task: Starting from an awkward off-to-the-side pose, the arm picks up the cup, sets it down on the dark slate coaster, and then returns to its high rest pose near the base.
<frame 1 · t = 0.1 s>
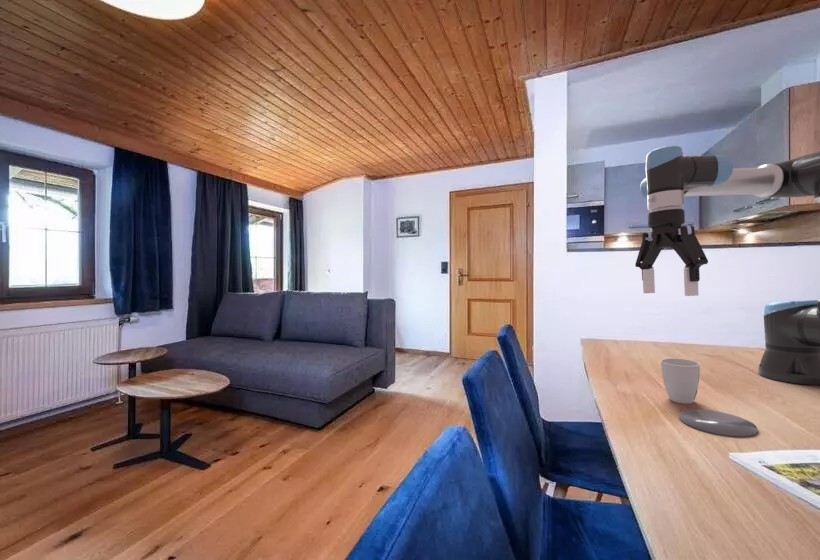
hand: (668, 294, 89), 28 cm above the table, fingers open, 13 cm apart
cup: (681, 400, 92), on the table
coaster: (716, 423, 78), on the table
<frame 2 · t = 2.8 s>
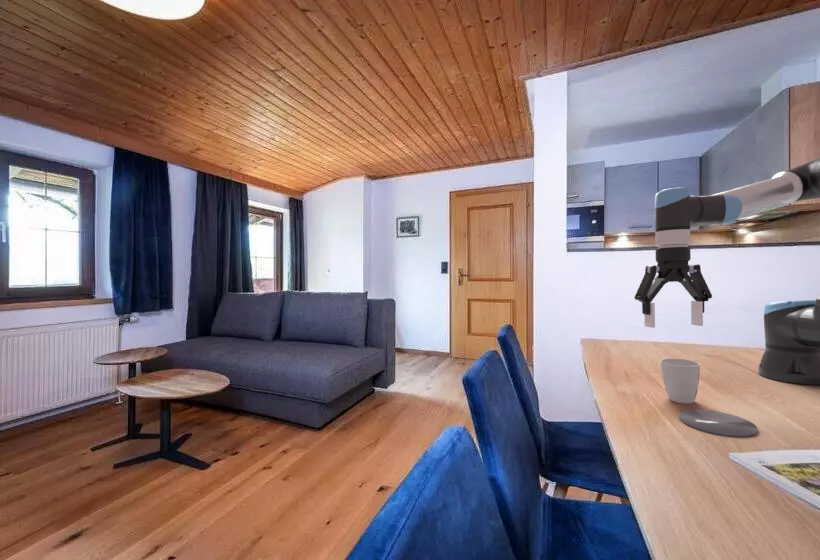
hand: (673, 326, 95), 19 cm above the table, fingers open, 13 cm apart
nothing on the table moved.
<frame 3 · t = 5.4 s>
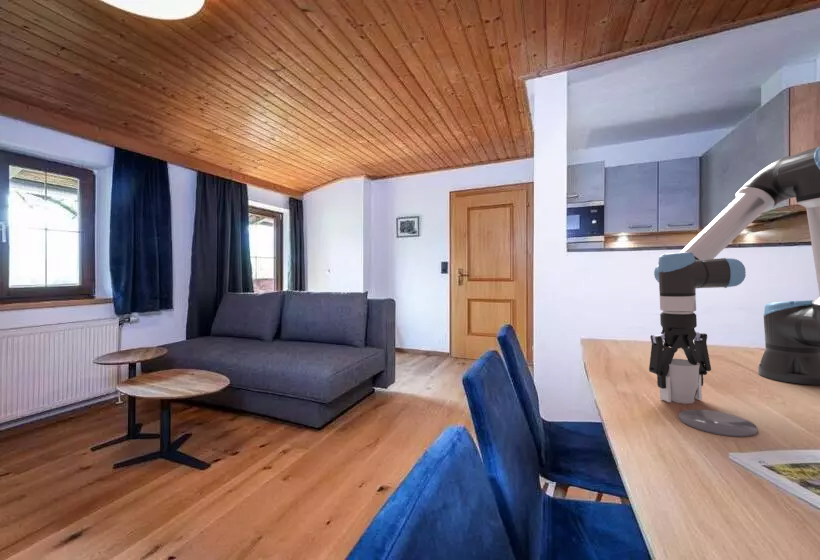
hand: (680, 399, 92), 0 cm above the table, fingers closed on cup, 8 cm apart
cup: (680, 400, 92), on the table, touching gripper
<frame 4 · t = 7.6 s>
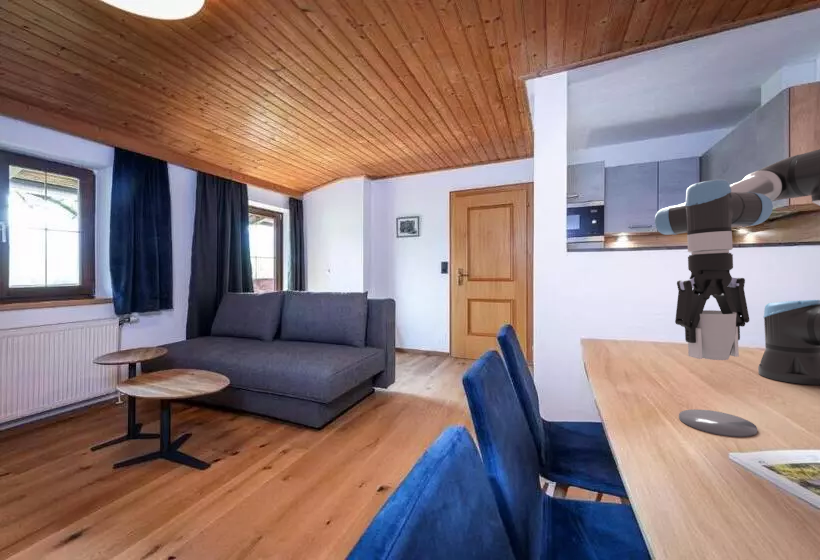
hand: (713, 356, 78), 15 cm above the table, fingers closed on cup, 8 cm apart
cup: (713, 358, 78), point 14 cm above the table, touching gripper
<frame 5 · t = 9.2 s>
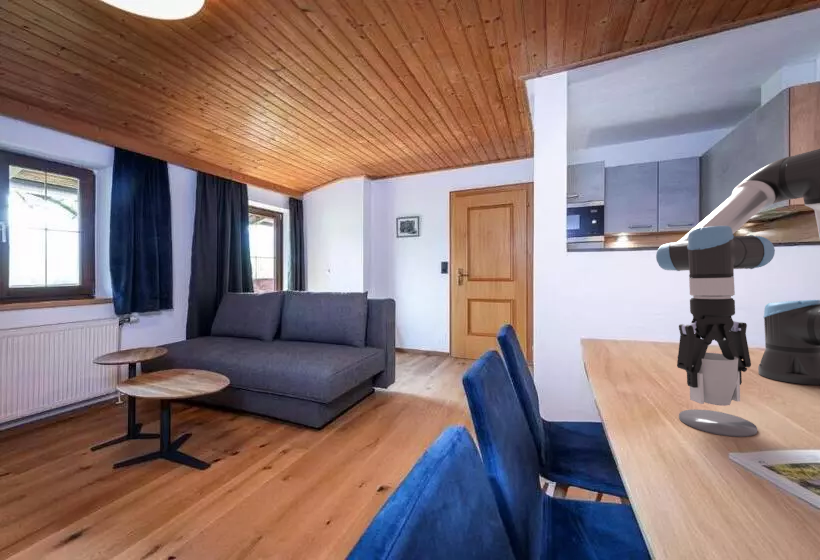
hand: (714, 400, 78), 5 cm above the table, fingers closed on cup, 8 cm apart
cup: (714, 402, 78), point 5 cm above the table, touching gripper
when the fingers open (2 cm above the table, at t = 10.3 s): cup drops 1 cm, resting on coaster.
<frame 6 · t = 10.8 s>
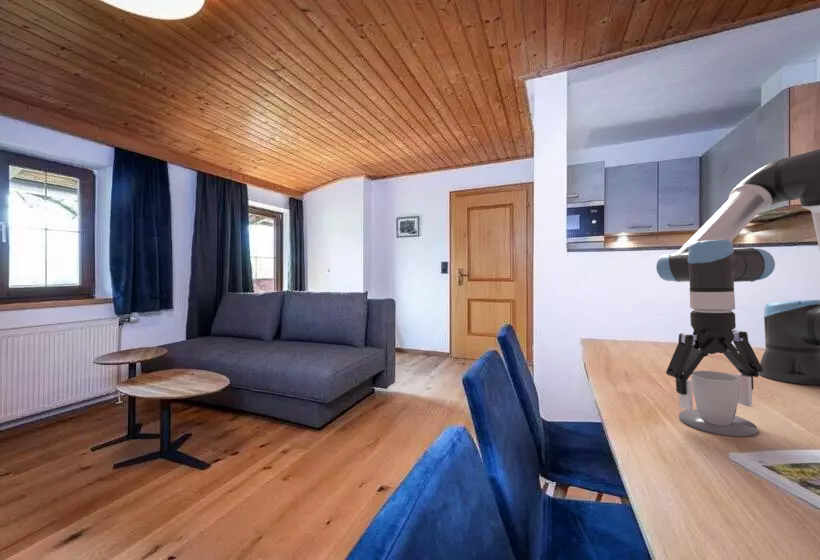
hand: (715, 406, 78), 4 cm above the table, fingers open, 13 cm apart
cup: (715, 421, 78), resting on coaster
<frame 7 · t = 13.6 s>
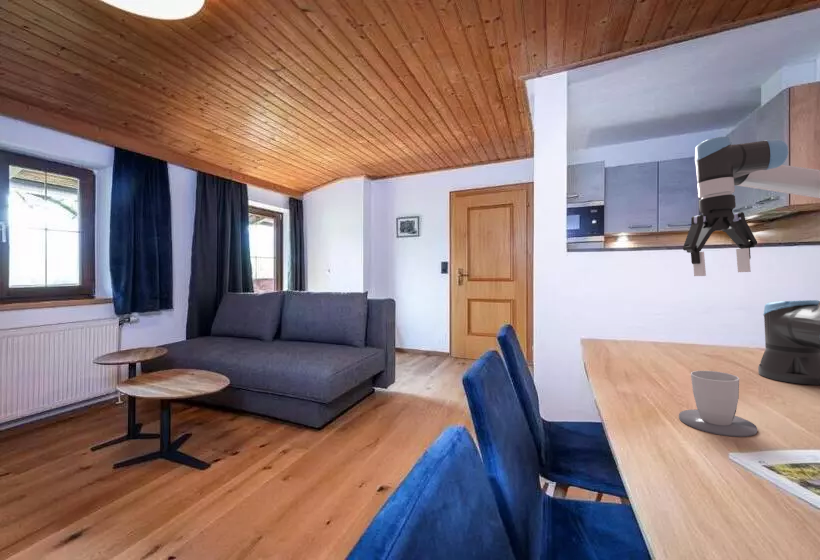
hand: (722, 274, 97), 32 cm above the table, fingers open, 13 cm apart
nothing on the table moved.
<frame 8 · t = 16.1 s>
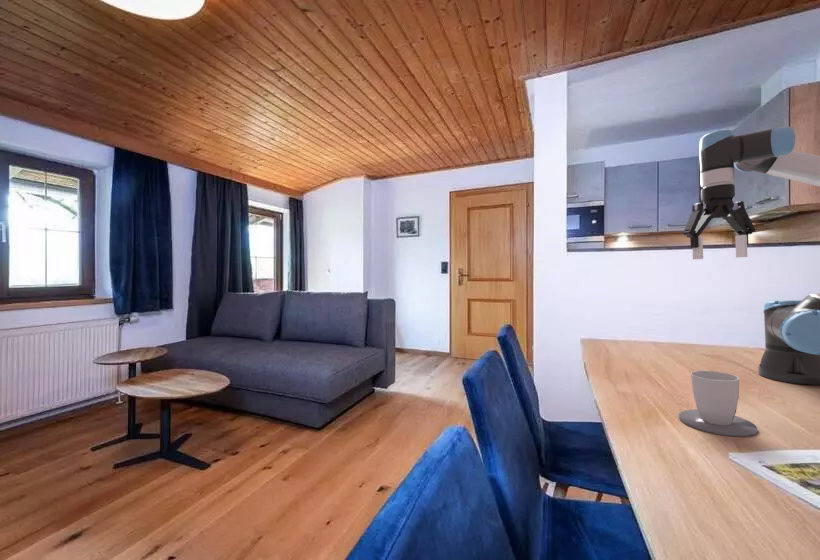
hand: (719, 258, 104), 37 cm above the table, fingers open, 13 cm apart
nothing on the table moved.
at the end: cup 0.0 cm from the coaster (horizontally); cup tilted 0°; the gripper is holding nothing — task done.
